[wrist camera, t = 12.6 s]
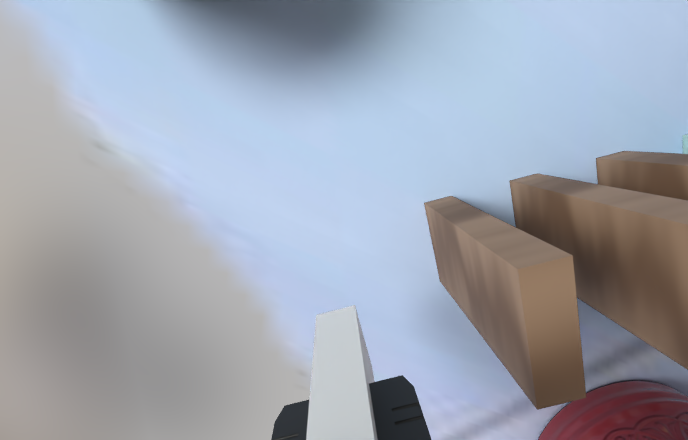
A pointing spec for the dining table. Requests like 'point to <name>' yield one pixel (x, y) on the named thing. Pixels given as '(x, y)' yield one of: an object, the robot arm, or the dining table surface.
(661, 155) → the domino
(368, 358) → the robot arm
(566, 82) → the dining table surface
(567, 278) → the domino
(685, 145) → the domino
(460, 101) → the dining table surface
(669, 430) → the canister
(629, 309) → the domino
